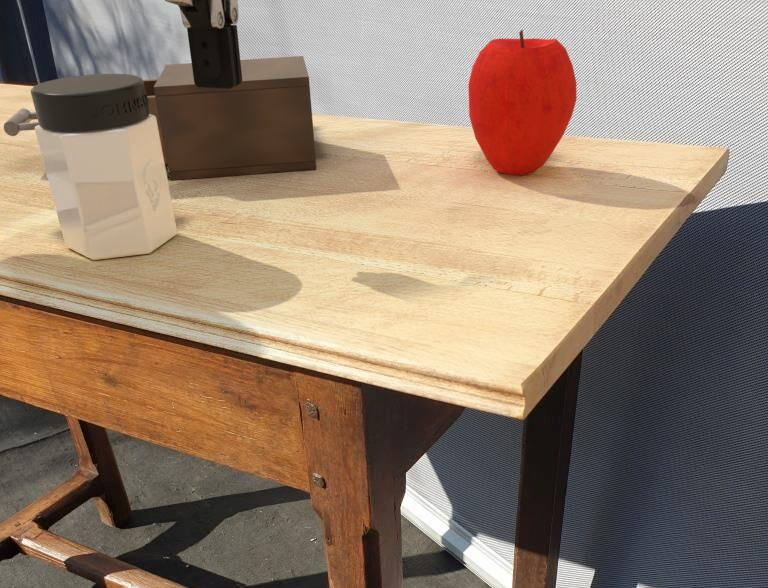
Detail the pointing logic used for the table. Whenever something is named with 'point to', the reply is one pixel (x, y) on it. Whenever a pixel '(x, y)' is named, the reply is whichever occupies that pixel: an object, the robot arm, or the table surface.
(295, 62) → the cabinet
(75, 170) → the jar
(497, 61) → the apple
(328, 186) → the table surface
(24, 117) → the drawer
